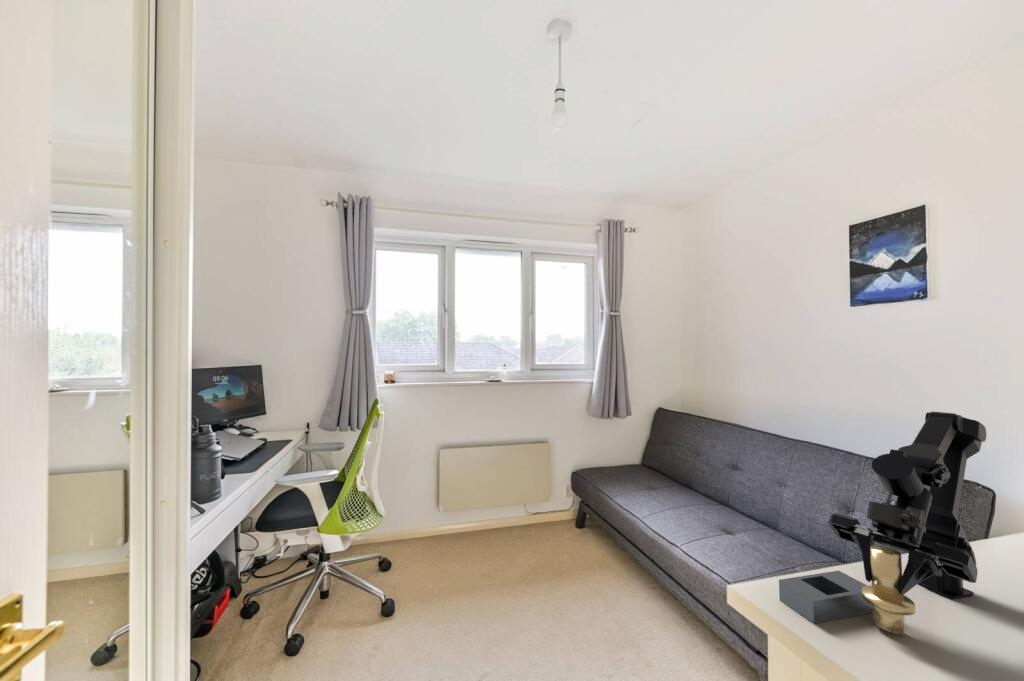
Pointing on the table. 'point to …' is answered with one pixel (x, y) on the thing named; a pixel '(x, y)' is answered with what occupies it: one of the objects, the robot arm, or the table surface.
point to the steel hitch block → (824, 596)
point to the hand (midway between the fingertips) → (883, 586)
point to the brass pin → (887, 590)
